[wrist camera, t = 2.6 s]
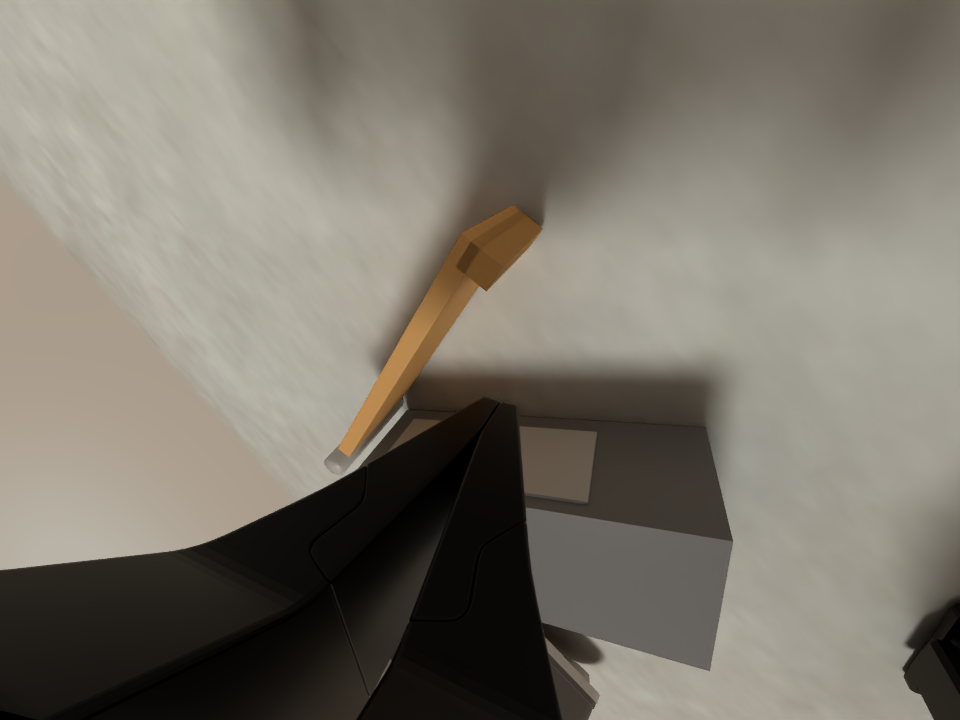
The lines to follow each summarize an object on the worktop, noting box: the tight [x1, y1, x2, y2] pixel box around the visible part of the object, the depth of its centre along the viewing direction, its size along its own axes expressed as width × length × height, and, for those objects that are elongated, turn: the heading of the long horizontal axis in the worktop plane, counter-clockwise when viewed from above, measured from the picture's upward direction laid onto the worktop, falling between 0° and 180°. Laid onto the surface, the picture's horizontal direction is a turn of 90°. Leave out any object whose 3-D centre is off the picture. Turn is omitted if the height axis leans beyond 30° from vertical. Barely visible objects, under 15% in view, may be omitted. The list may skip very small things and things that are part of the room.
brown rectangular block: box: [338, 205, 543, 457], centre depth 14 cm, size 11×1×5 cm, turn 147°
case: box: [324, 399, 733, 671], centre depth 17 cm, size 15×9×5 cm, turn 102°
